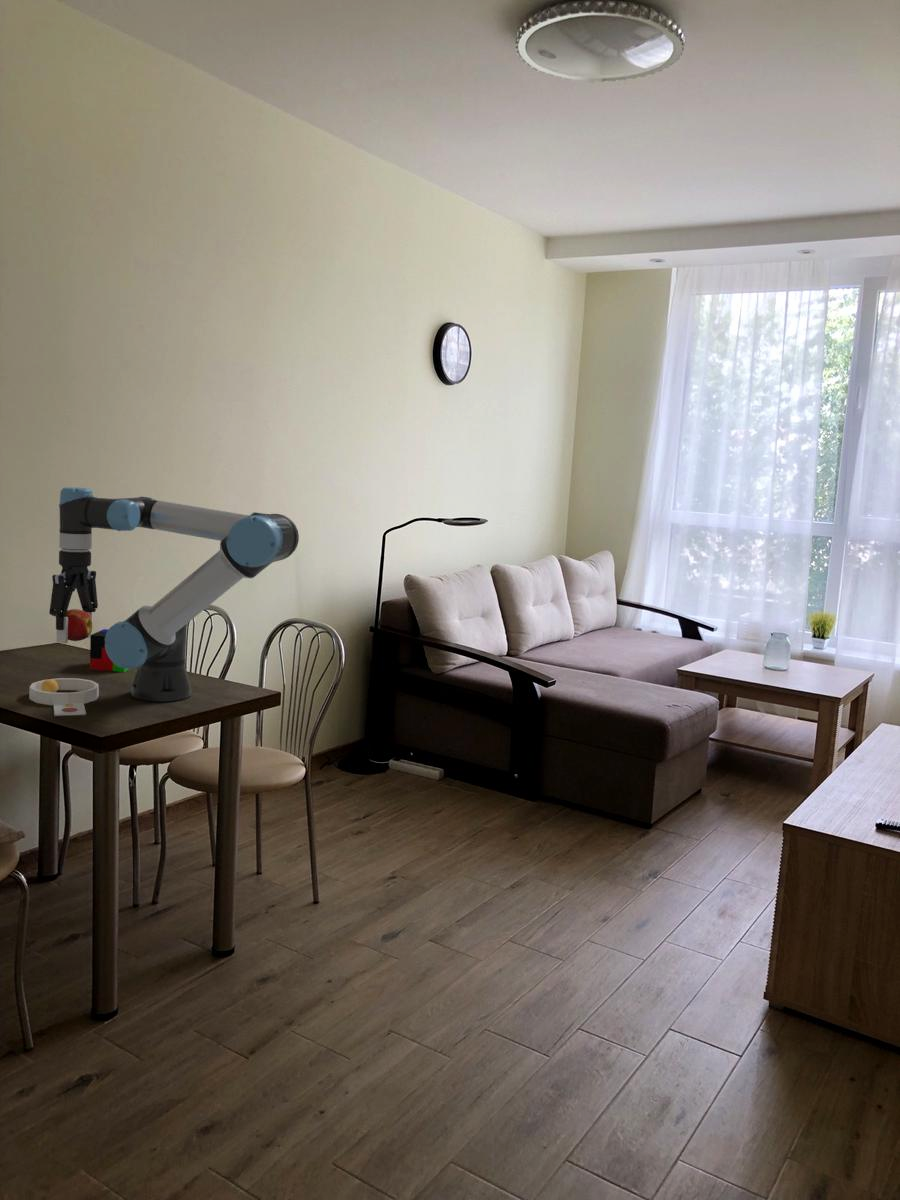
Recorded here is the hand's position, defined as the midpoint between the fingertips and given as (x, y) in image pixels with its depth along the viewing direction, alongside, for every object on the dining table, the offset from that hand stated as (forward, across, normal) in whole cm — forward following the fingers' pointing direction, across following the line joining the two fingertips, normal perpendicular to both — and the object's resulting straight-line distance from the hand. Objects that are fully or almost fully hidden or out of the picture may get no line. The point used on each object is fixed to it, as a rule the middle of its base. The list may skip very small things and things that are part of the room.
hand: (73, 639), depth 252 cm
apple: (0, 0, 0) cm, 0 cm away
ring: (+15, 0, -2) cm, 15 cm away
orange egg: (+15, 0, -7) cm, 17 cm away
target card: (+15, +9, +6) cm, 19 cm away
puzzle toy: (+15, -35, -13) cm, 40 cm away
